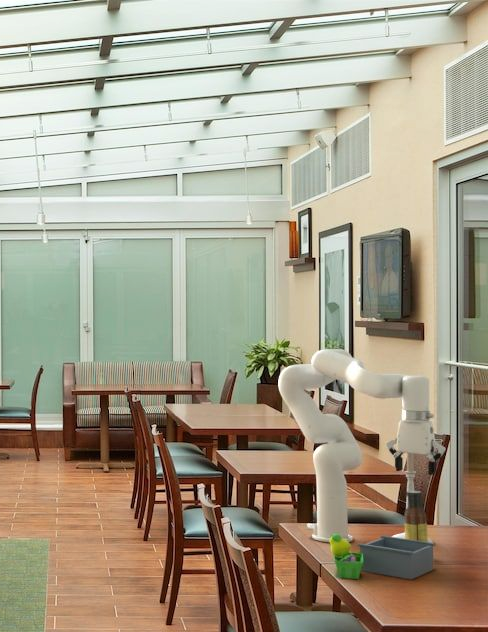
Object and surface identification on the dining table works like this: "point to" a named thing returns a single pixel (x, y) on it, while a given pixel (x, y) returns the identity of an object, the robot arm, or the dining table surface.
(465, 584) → the dining table surface
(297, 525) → the dining table surface
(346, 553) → the fruit basket
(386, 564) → the blue wooden frame
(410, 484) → the candlestick
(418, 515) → the sauce bottle
